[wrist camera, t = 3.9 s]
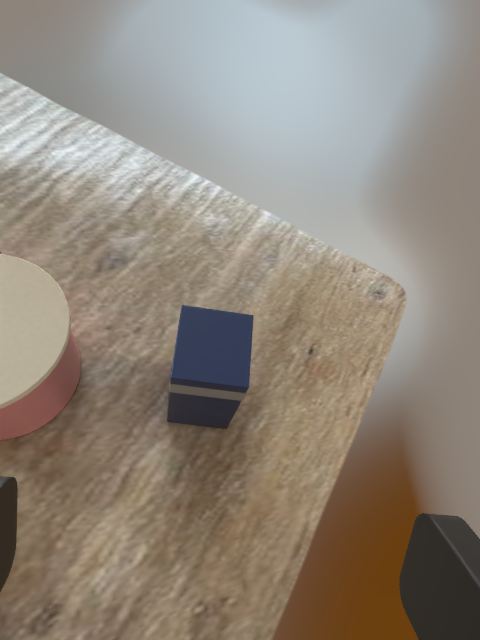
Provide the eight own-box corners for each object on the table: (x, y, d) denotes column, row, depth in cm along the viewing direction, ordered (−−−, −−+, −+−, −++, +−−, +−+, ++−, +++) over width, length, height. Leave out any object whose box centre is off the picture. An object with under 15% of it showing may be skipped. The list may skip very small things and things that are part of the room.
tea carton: (166, 422, 35) (169, 378, 26) (176, 361, 38) (181, 304, 29) (227, 429, 36) (249, 388, 27) (232, 368, 38) (253, 314, 30)
